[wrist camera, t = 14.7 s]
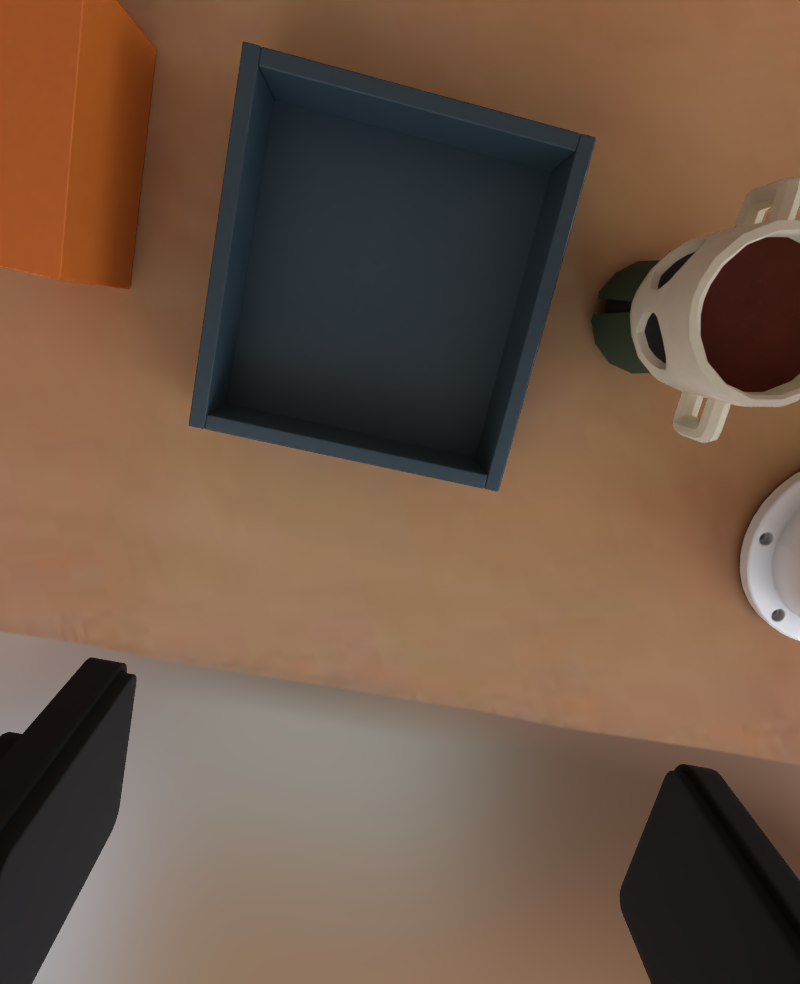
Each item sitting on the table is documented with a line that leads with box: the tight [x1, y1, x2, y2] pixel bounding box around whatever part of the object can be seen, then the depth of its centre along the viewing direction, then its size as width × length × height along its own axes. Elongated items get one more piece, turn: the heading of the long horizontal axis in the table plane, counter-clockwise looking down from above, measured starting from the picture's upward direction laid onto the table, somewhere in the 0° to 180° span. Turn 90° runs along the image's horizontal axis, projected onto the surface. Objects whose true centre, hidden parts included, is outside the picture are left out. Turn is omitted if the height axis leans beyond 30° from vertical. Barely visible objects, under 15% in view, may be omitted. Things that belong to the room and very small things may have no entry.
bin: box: [189, 42, 596, 491], centre depth 33 cm, size 17×18×5 cm
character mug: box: [591, 177, 800, 443], centre depth 30 cm, size 11×7×13 cm, turn 168°
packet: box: [0, 0, 156, 289], centre depth 29 cm, size 4×12×8 cm, turn 167°
